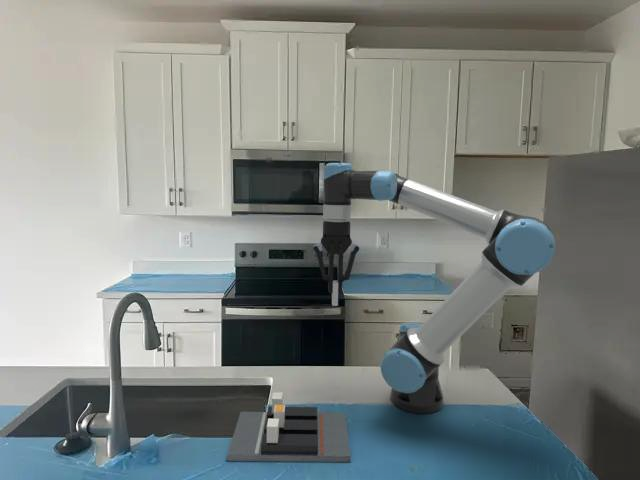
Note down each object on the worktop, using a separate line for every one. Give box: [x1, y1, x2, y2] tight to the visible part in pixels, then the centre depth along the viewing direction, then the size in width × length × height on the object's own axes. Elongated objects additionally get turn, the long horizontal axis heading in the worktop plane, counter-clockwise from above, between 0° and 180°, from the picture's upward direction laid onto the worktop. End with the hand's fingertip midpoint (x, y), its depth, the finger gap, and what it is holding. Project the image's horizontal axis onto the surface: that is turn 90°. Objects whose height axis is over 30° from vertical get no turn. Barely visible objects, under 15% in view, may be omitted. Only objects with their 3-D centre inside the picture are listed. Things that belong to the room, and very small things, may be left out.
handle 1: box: [271, 392, 284, 414], centre depth 116 cm, size 2×4×4 cm
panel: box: [226, 405, 352, 463], centre depth 110 cm, size 28×19×4 cm
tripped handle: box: [274, 404, 286, 428], centre depth 109 cm, size 2×4×4 cm
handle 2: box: [267, 418, 279, 443], centre depth 103 cm, size 2×4×4 cm
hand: (334, 304), depth 124 cm, fingers closed
